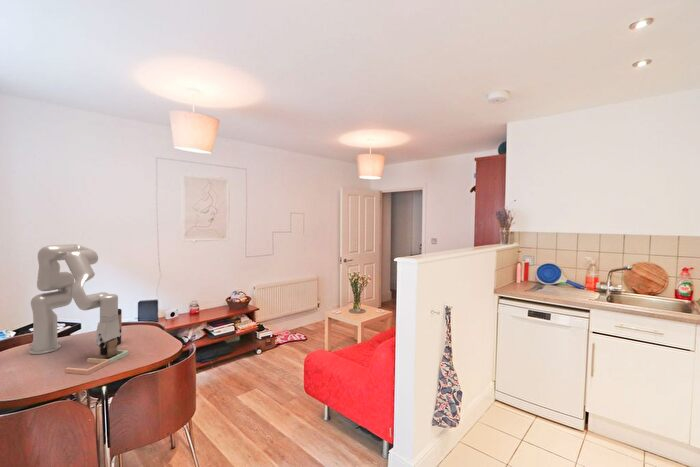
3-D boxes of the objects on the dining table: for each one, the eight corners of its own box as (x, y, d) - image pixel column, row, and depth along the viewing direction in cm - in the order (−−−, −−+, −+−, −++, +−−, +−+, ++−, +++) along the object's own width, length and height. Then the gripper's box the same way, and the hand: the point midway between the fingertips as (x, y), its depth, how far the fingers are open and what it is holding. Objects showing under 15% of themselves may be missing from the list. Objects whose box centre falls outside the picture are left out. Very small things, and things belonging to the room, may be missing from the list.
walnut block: (100, 356, 162) (100, 341, 162) (108, 352, 167) (108, 337, 167) (108, 357, 162) (108, 342, 162) (117, 353, 167) (117, 338, 167)
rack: (64, 372, 148) (64, 368, 148) (108, 352, 171) (108, 349, 171) (87, 374, 147) (87, 370, 147) (128, 354, 170) (128, 350, 170)
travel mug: (112, 347, 179) (112, 312, 179) (101, 345, 181) (101, 311, 180) (124, 342, 187) (125, 309, 186) (114, 341, 188) (114, 308, 188)
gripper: (116, 313, 173) (115, 345, 173) (87, 322, 156) (86, 358, 157) (128, 314, 172) (128, 346, 173) (100, 323, 155) (100, 359, 156)
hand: (108, 352), depth 165 cm, fingers closed on walnut block, 4 cm apart
